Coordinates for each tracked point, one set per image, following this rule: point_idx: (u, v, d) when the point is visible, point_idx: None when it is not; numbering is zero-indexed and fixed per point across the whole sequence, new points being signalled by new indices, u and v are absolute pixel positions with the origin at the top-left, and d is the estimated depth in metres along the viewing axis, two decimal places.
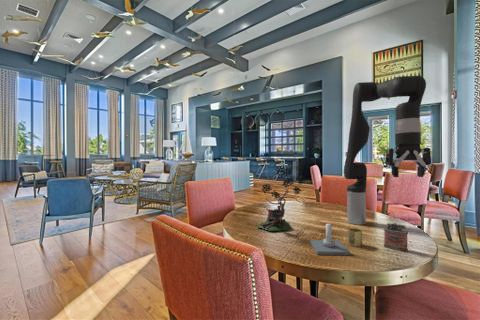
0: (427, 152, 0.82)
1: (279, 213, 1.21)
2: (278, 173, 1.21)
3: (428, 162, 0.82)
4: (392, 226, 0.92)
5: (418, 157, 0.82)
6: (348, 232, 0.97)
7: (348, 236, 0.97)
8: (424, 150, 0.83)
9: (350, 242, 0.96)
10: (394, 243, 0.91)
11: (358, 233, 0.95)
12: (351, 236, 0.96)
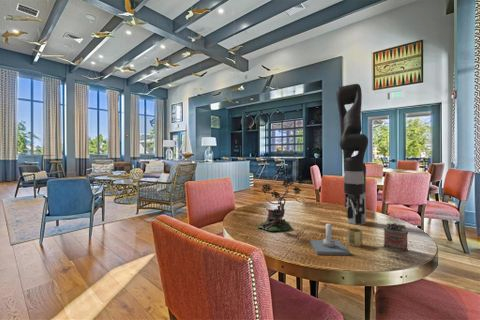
0: None
1: (279, 213, 1.21)
2: (278, 173, 1.21)
3: (351, 205, 1.03)
4: (392, 226, 0.92)
5: None
6: (348, 232, 0.97)
7: (348, 236, 0.97)
8: None
9: (350, 242, 0.96)
10: (394, 243, 0.91)
11: (358, 233, 0.95)
12: (351, 236, 0.96)
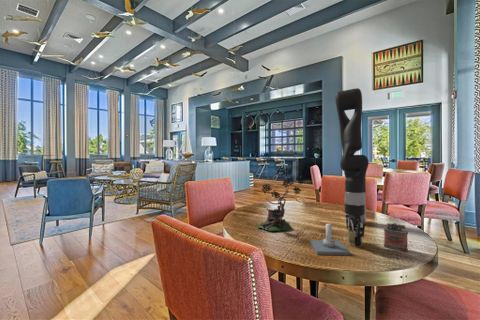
0: None
1: (279, 213, 1.21)
2: (278, 173, 1.21)
3: None
4: (392, 226, 0.92)
5: None
6: (348, 232, 0.97)
7: (348, 236, 0.97)
8: None
9: (350, 242, 0.96)
10: (394, 243, 0.91)
11: None
12: (351, 236, 0.96)
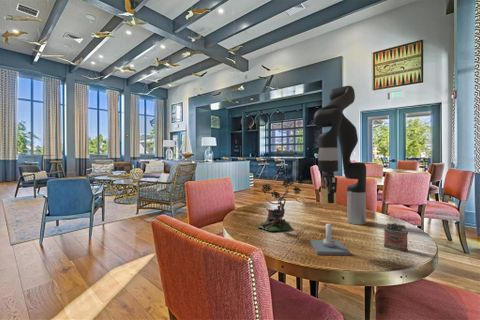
0: None
1: (279, 213, 1.21)
2: (278, 173, 1.21)
3: None
4: (392, 226, 0.92)
5: None
6: (321, 190, 0.93)
7: (321, 194, 0.93)
8: None
9: (323, 200, 0.92)
10: (394, 243, 0.91)
11: None
12: (324, 194, 0.92)
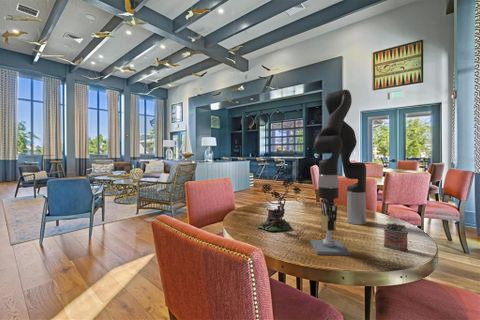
0: None
1: (279, 213, 1.21)
2: (278, 173, 1.21)
3: None
4: (392, 226, 0.92)
5: None
6: (321, 217, 0.93)
7: (321, 221, 0.93)
8: None
9: (323, 227, 0.92)
10: (394, 243, 0.91)
11: None
12: (324, 221, 0.92)
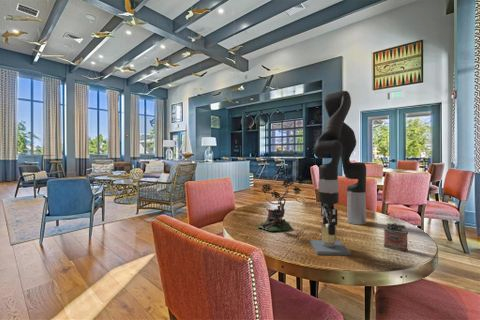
0: None
1: (279, 213, 1.21)
2: (278, 173, 1.21)
3: None
4: (392, 226, 0.92)
5: None
6: (322, 228, 0.93)
7: (322, 232, 0.93)
8: None
9: (324, 238, 0.92)
10: (394, 243, 0.91)
11: None
12: (325, 232, 0.92)
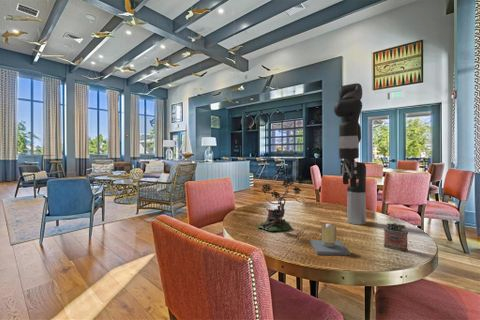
0: None
1: (279, 213, 1.21)
2: (278, 173, 1.21)
3: (346, 171, 1.04)
4: (392, 226, 0.92)
5: None
6: (322, 228, 0.93)
7: (322, 232, 0.93)
8: None
9: (324, 238, 0.92)
10: (394, 243, 0.91)
11: (332, 229, 0.91)
12: (325, 232, 0.92)
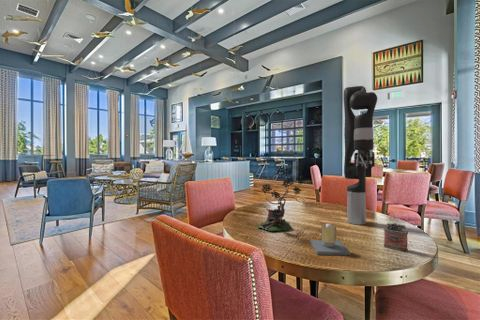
0: None
1: (279, 213, 1.21)
2: (278, 173, 1.21)
3: None
4: (392, 226, 0.92)
5: None
6: (322, 228, 0.93)
7: (322, 232, 0.93)
8: None
9: (324, 238, 0.92)
10: (394, 243, 0.91)
11: (332, 229, 0.91)
12: (325, 232, 0.92)
